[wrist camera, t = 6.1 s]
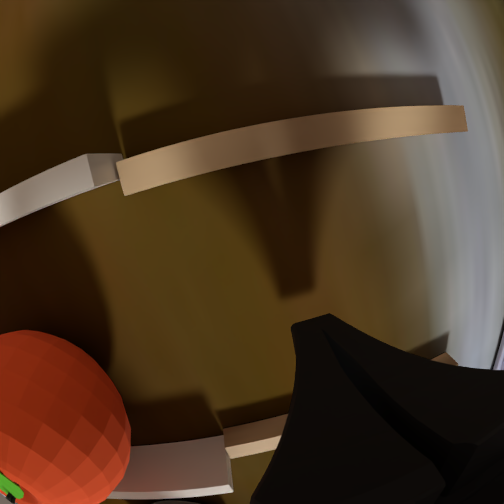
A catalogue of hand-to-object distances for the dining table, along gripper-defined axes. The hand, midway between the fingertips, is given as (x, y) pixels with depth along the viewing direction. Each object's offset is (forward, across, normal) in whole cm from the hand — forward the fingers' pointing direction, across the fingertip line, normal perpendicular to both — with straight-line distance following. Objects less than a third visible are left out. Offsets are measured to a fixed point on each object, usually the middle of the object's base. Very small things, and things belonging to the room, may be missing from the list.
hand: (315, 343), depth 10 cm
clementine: (+2, +10, 0) cm, 10 cm away
